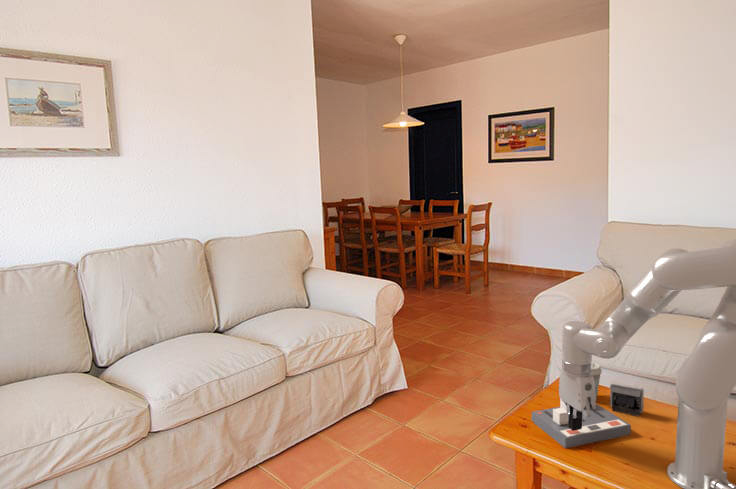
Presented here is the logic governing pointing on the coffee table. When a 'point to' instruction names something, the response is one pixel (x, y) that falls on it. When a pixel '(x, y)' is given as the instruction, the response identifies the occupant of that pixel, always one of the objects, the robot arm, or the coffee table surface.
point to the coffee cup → (596, 375)
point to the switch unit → (583, 427)
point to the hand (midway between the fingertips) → (575, 428)
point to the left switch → (560, 416)
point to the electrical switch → (626, 399)
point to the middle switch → (563, 405)
